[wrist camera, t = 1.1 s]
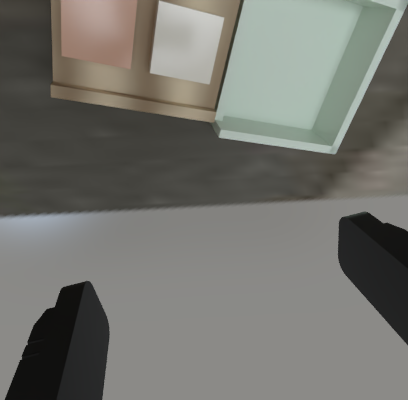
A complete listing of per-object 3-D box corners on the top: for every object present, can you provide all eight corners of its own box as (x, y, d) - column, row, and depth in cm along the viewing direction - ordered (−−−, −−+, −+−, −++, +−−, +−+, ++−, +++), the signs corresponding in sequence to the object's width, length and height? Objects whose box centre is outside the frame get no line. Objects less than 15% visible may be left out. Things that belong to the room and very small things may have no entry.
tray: (207, 119, 33) (218, 137, 29) (245, -43, 26) (267, -48, 22) (312, 136, 37) (335, 154, 33) (371, -2, 30) (409, 0, 26)
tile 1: (66, 51, 25) (61, 56, 23) (65, -25, 22) (60, -26, 21) (130, 64, 26) (130, 69, 25) (137, -6, 24) (137, -5, 22)
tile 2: (148, 67, 27) (149, 73, 25) (157, -1, 24) (159, 0, 22) (204, 78, 28) (209, 84, 26) (218, 15, 25) (224, 17, 24)
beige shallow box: (59, 84, 29) (50, 97, 25) (57, -85, 23) (44, -98, 19) (205, 109, 33) (214, 122, 29) (237, -30, 26) (252, -32, 23)
